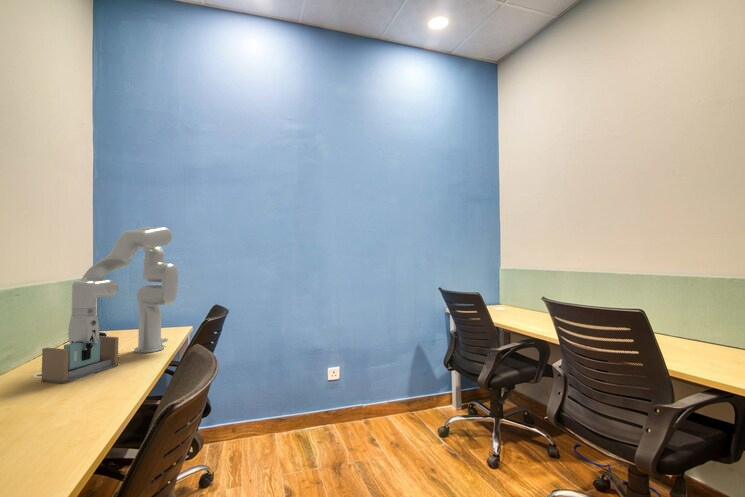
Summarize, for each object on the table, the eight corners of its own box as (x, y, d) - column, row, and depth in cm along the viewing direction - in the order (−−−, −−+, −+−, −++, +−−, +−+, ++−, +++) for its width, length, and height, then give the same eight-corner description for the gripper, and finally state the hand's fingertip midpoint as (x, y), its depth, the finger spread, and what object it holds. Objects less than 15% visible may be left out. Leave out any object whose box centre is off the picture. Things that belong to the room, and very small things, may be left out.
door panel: (93, 360, 149) (93, 338, 149) (99, 361, 148) (100, 338, 149) (62, 369, 137) (63, 345, 137) (69, 369, 137) (70, 345, 137)
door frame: (98, 364, 155) (98, 335, 155) (117, 365, 153) (118, 337, 153) (41, 381, 133) (42, 348, 133) (63, 383, 131) (64, 350, 131)
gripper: (109, 311, 145) (108, 358, 145) (76, 310, 149) (75, 355, 148) (91, 314, 138) (90, 363, 138) (57, 312, 141) (55, 360, 141)
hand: (82, 359), depth 143 cm, fingers closed on door panel, 3 cm apart
